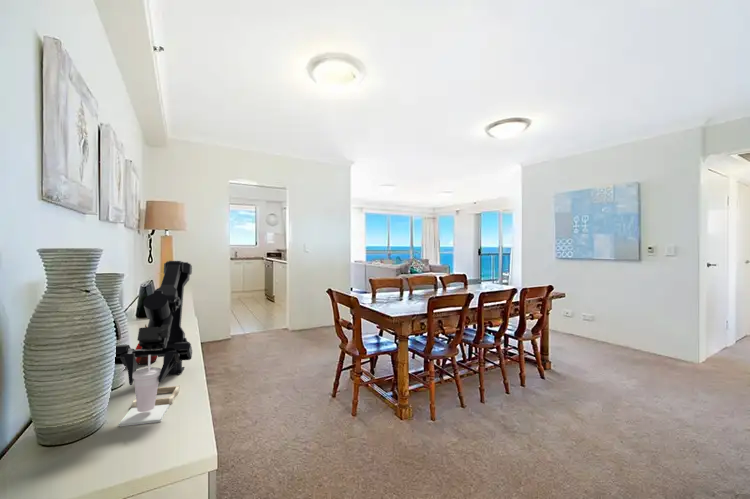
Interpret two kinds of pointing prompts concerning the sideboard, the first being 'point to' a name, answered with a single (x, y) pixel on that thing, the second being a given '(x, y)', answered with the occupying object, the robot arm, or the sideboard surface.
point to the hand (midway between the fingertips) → (145, 383)
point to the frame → (164, 400)
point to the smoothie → (146, 386)
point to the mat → (144, 416)
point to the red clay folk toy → (144, 359)
